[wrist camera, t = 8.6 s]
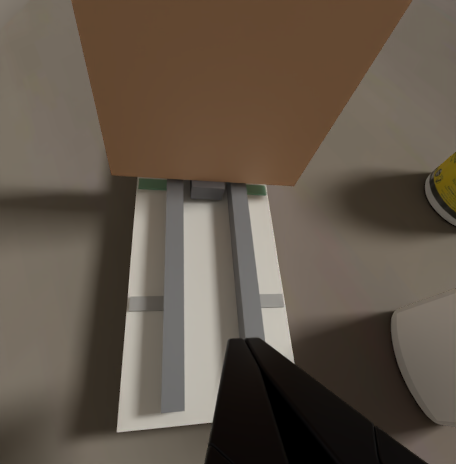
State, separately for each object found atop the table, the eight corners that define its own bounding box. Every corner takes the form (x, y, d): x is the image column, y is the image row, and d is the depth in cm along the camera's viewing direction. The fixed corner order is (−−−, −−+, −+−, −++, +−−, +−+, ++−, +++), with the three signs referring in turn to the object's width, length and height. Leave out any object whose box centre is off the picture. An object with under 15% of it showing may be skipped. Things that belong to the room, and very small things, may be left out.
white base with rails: (284, 410, 14) (313, 414, 11) (122, 427, 12) (112, 435, 10) (249, 156, 21) (262, 122, 18) (143, 148, 19) (140, 109, 17)
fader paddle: (288, 203, 16) (551, -194, 5) (113, 195, 15) (-39, -434, 4) (281, 168, 18) (487, -221, 6) (118, 156, 16) (13, -414, 5)
